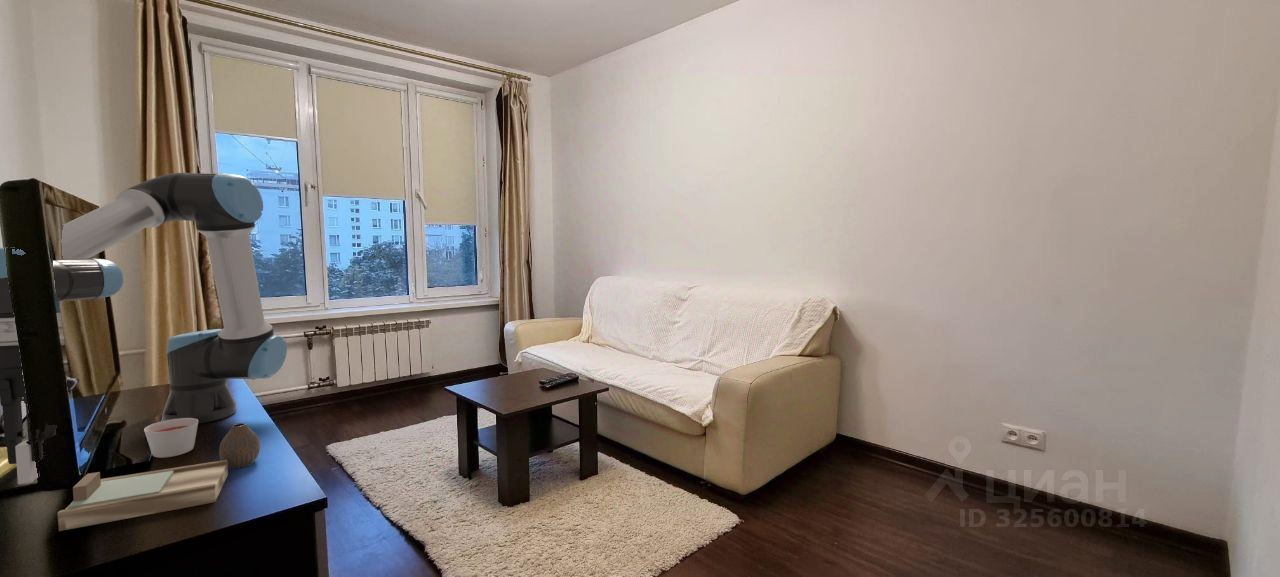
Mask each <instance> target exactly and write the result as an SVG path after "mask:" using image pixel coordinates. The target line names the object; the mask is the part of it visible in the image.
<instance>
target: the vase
mask: <svg viewBox="0 0 1280 577" xmlns="http://www.w3.org/2000/svg"><path fill="white" fill-rule="evenodd" d="M260 450H261V442H260V438H259V436H258V435H257V434H256V432H254V431H253V430H252V429H250V428H249V426H248V425H247V424H246V423H244V422H240V423H235V424H233V425H231V427H230V429H229V430H228V432H227V433H226V435H225V436H224V437H223V438H222V440H221V442H220V445H219V449H218V453H219V458H220V461H222V460H227V462H228V469H241V468H245V467H246V468H247V467H248V466H250V465H252V464H253V463H254V462H255V461H256V460H257V458H258V457H259V454H260V452H261V451H260Z"/></svg>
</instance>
